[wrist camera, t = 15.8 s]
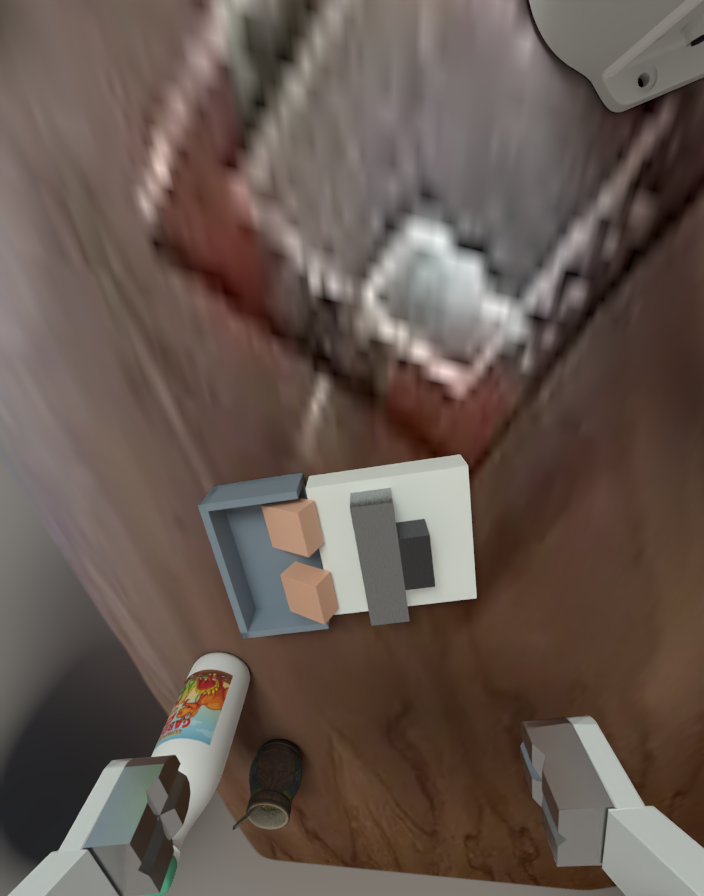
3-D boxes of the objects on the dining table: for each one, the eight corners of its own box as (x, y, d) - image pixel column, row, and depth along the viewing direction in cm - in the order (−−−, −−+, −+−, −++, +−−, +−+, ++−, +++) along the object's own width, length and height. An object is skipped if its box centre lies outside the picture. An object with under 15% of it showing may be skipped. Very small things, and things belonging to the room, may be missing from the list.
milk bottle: (261, 663, 50) (201, 877, 31) (237, 700, 52) (169, 919, 33) (205, 641, 49) (110, 849, 30) (184, 679, 51) (83, 894, 32)
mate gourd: (300, 769, 57) (287, 860, 48) (250, 759, 57) (227, 849, 47) (310, 738, 55) (298, 827, 45) (258, 727, 54) (235, 815, 45)
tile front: (314, 500, 38) (297, 512, 36) (323, 543, 39) (308, 557, 37) (278, 494, 41) (261, 505, 39) (288, 534, 42) (272, 547, 40)
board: (460, 454, 40) (468, 465, 37) (469, 580, 45) (476, 598, 42) (309, 476, 41) (305, 488, 38) (335, 596, 46) (333, 615, 43)
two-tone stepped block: (350, 493, 38) (420, 483, 37) (370, 604, 43) (433, 597, 42) (349, 507, 35) (425, 497, 35) (371, 625, 40) (438, 618, 39)
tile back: (330, 571, 41) (315, 586, 39) (338, 608, 42) (324, 624, 40) (295, 561, 43) (280, 574, 41) (304, 596, 45) (290, 610, 43)
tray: (302, 472, 40) (296, 491, 36) (331, 600, 46) (328, 628, 42) (213, 485, 41) (197, 505, 37) (252, 609, 47) (242, 638, 43)
